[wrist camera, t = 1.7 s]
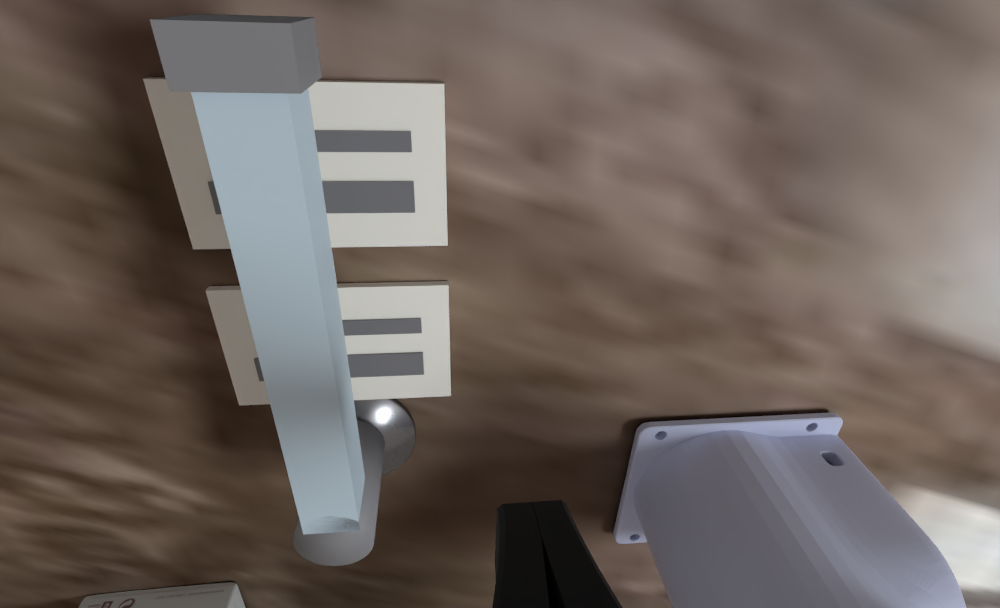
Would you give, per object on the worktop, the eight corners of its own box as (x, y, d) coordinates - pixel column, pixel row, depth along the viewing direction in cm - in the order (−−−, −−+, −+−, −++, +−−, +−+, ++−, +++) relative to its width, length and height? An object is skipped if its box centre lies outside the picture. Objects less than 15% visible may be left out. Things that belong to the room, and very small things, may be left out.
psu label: (444, 82, 15) (444, 84, 15) (447, 241, 18) (447, 246, 17) (148, 77, 14) (141, 79, 14) (196, 245, 17) (192, 250, 17)
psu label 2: (448, 280, 18) (448, 286, 18) (451, 391, 21) (450, 397, 21) (208, 286, 18) (204, 292, 17) (241, 400, 20) (238, 407, 20)
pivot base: (412, 383, 21) (411, 387, 20) (418, 471, 23) (418, 476, 23) (279, 388, 20) (277, 393, 20) (301, 478, 23) (299, 484, 22)
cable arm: (387, 464, 22) (376, 568, 18) (323, 468, 22) (298, 574, 18) (336, 12, 13) (296, 22, 10) (230, 9, 13) (144, 19, 9)
